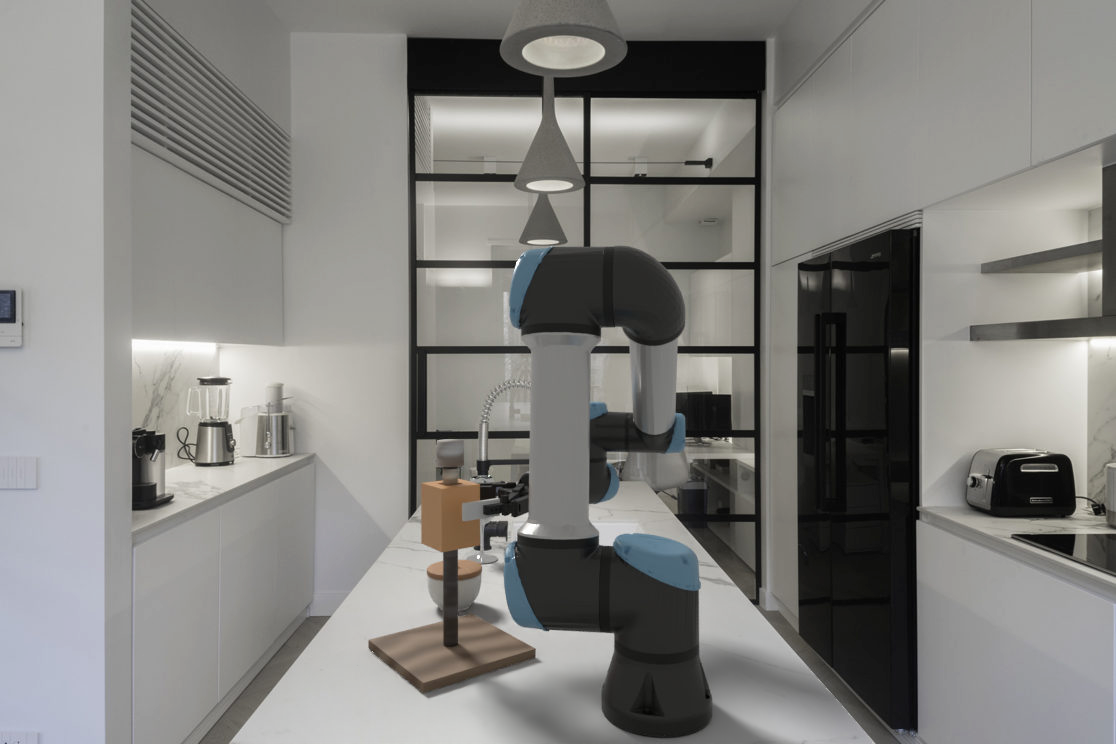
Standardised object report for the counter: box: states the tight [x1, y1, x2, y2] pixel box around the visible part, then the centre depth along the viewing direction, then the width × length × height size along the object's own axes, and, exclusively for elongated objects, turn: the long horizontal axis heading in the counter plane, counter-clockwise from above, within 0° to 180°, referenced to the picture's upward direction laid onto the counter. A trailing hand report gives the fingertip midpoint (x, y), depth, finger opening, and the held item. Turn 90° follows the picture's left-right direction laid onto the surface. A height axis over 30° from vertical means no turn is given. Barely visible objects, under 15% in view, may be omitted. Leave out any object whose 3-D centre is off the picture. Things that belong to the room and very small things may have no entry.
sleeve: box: [420, 478, 480, 553], centre depth 116 cm, size 7×7×10 cm
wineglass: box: [465, 474, 498, 565], centre depth 171 cm, size 8×8×20 cm
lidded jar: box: [426, 559, 483, 612], centre depth 138 cm, size 11×11×9 cm
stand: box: [367, 438, 537, 694], centre depth 116 cm, size 20×20×35 cm
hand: (441, 505), depth 115 cm, fingers open, 13 cm apart
